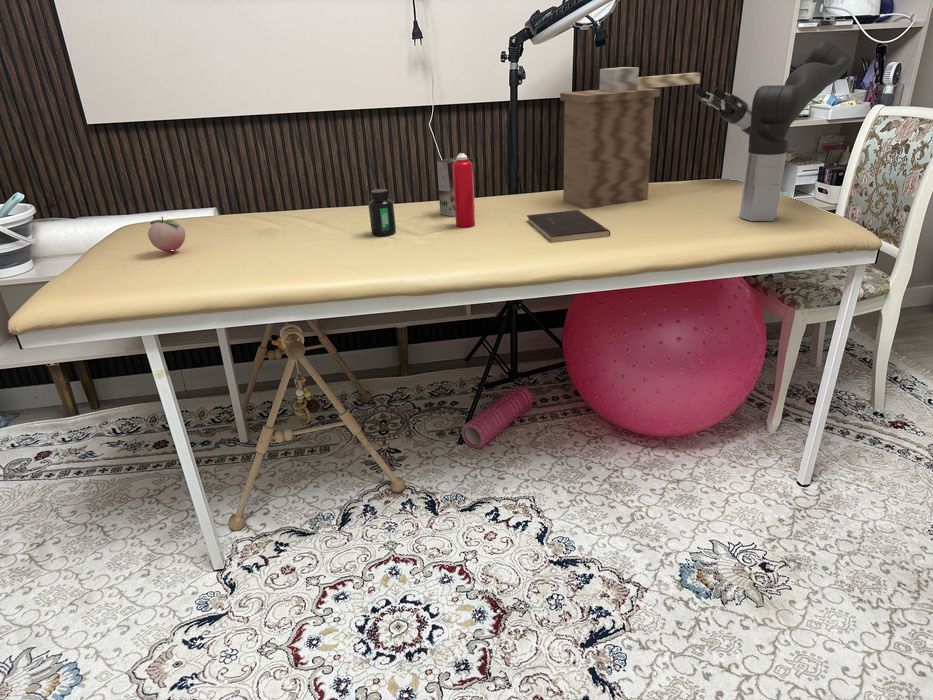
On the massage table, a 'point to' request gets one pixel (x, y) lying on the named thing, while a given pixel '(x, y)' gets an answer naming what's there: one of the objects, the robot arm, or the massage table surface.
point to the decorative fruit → (166, 235)
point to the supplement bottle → (381, 213)
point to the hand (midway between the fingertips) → (705, 90)
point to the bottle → (463, 192)
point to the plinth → (607, 146)
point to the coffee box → (447, 186)
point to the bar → (640, 79)
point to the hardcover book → (567, 226)
